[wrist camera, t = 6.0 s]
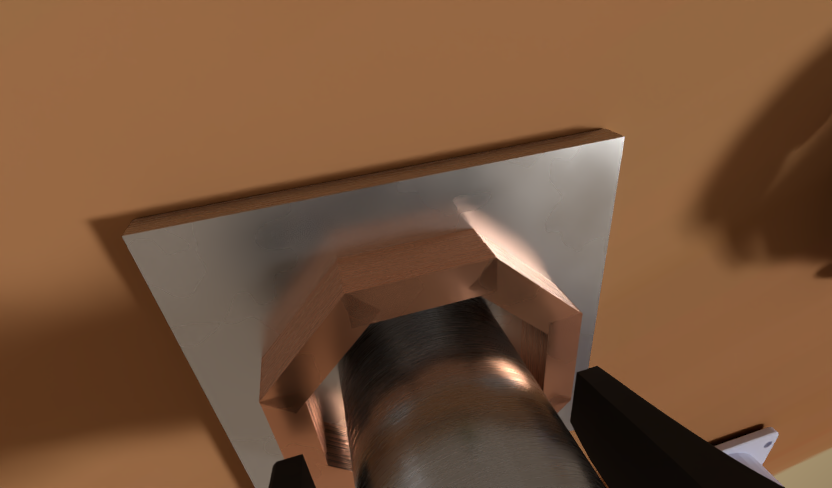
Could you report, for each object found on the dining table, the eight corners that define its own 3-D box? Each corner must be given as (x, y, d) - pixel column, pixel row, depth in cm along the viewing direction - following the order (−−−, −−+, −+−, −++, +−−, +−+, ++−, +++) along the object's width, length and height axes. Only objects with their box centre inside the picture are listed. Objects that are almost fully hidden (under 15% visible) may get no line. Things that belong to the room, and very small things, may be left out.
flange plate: (567, 412, 18) (601, 462, 16) (275, 503, 16) (274, 573, 14) (605, 128, 12) (668, 154, 10) (132, 219, 10) (96, 275, 8)
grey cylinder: (501, 272, 12) (701, 527, 6) (495, 392, 15) (634, 653, 9) (324, 309, 11) (367, 648, 5) (350, 430, 14) (399, 750, 8)
